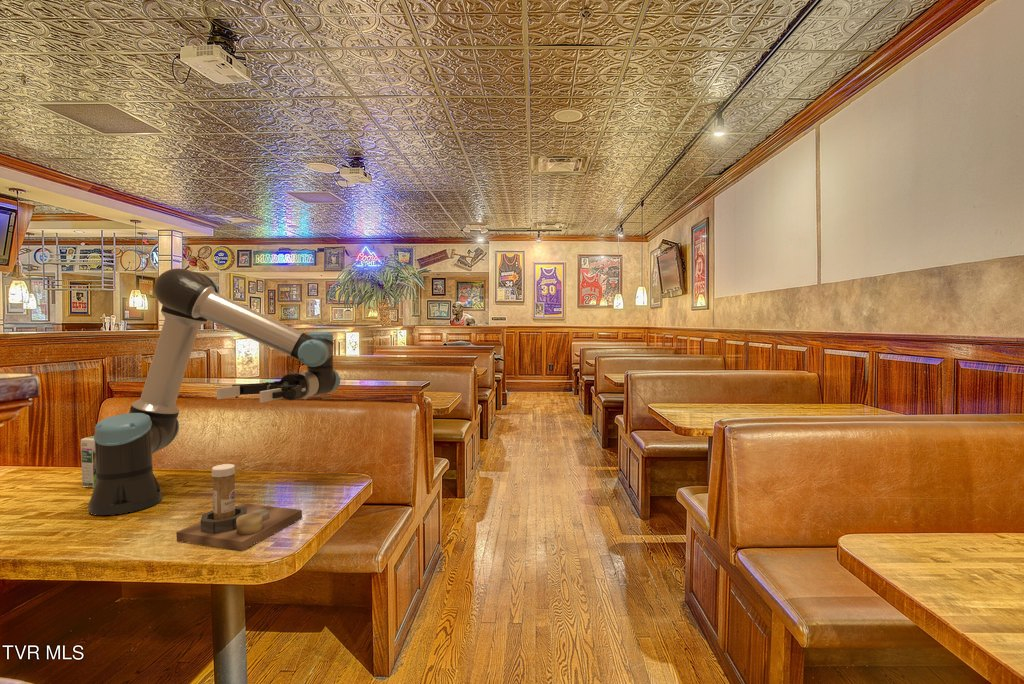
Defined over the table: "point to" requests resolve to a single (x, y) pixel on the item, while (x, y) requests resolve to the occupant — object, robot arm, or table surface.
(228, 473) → the sprinkles bottle
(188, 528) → the carrier board
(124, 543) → the table surface
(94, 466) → the syrup box
